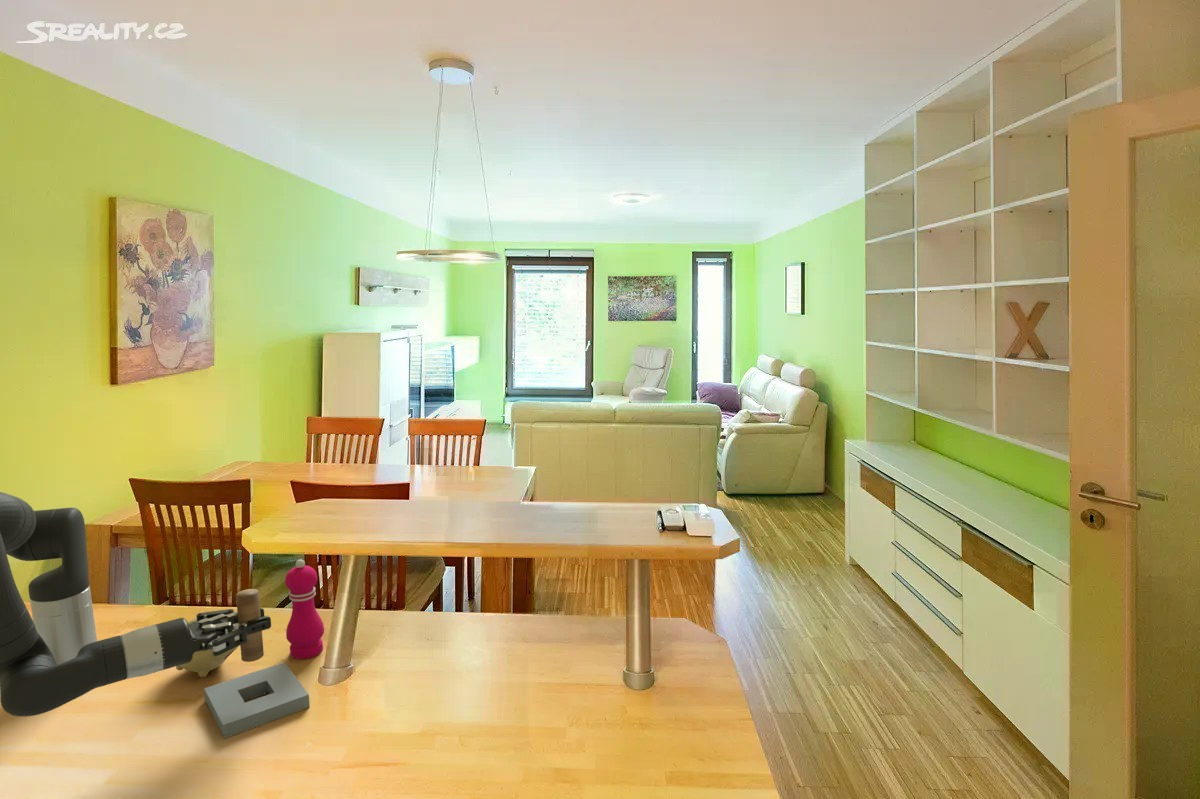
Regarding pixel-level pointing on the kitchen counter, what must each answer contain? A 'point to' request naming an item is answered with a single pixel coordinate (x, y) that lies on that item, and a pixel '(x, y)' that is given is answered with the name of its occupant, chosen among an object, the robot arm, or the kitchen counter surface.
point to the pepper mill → (303, 613)
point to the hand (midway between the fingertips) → (266, 617)
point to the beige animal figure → (204, 660)
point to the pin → (249, 611)
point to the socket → (244, 716)
